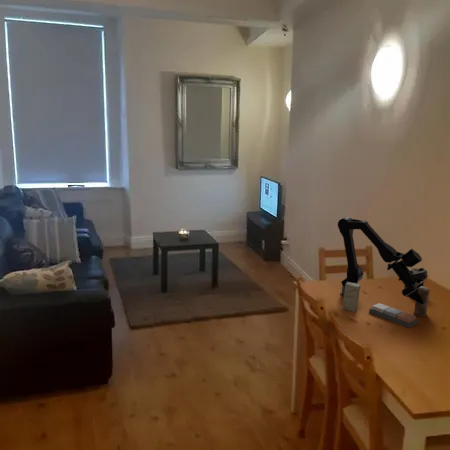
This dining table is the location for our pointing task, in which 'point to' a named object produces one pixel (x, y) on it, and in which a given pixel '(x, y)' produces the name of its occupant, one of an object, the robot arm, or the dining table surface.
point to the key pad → (390, 314)
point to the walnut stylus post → (424, 294)
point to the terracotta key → (406, 317)
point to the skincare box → (351, 296)
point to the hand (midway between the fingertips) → (425, 301)
